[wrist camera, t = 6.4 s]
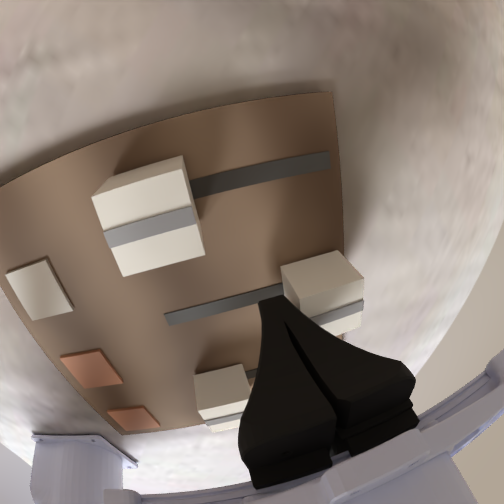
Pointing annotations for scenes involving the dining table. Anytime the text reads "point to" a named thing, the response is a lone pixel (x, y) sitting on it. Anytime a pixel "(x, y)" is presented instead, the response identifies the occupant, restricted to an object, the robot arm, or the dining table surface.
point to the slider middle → (326, 291)
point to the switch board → (177, 274)
